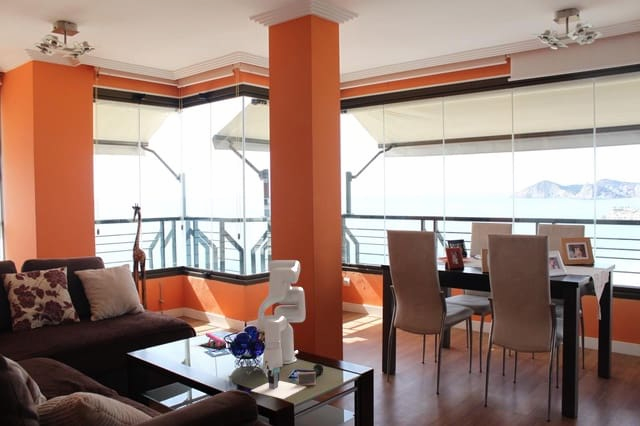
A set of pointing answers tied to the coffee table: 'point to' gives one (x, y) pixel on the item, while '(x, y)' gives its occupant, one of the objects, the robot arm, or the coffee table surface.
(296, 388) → the paper
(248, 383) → the coffee table surface
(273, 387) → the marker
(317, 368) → the microphone
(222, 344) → the pink toy cannon
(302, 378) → the word card
